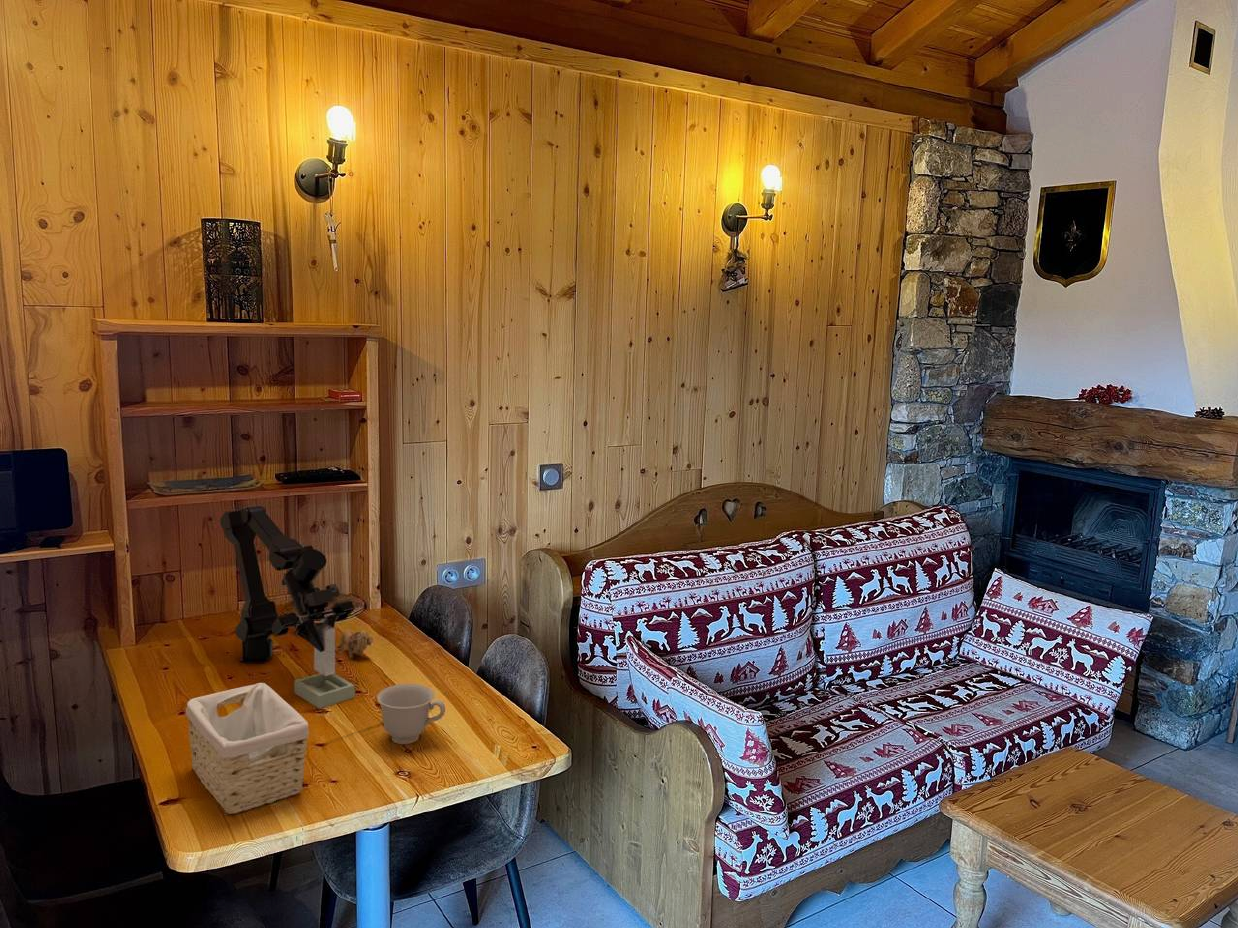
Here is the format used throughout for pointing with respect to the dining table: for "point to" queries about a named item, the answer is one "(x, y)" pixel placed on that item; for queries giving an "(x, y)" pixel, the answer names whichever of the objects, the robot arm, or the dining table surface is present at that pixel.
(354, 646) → the lion figurine
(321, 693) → the storage box
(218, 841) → the dining table surface
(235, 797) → the storage basket
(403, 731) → the teacup
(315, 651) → the rectangular steel block
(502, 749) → the dining table surface
